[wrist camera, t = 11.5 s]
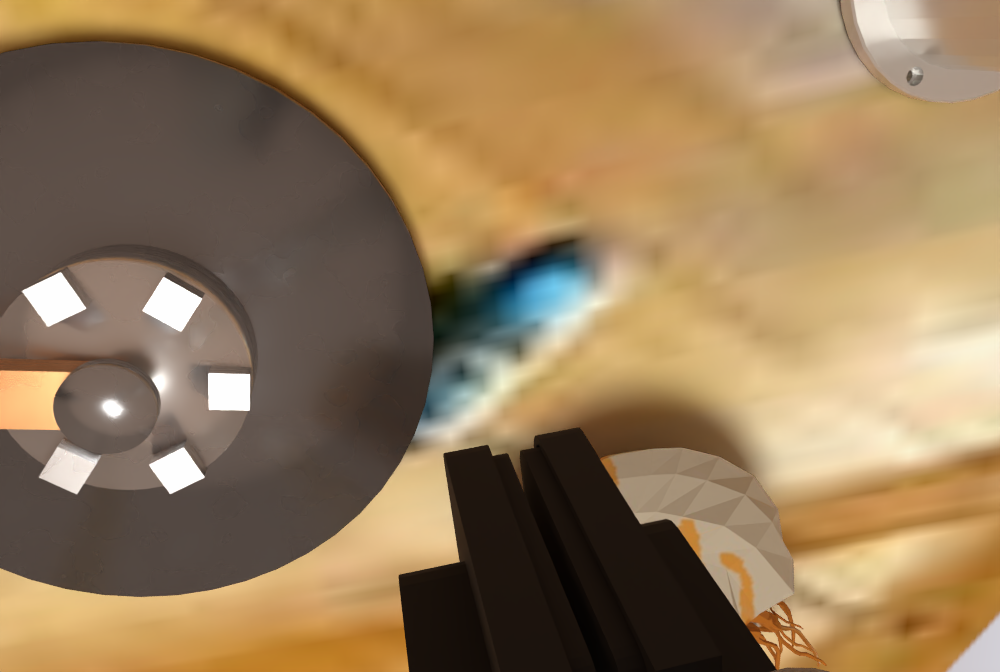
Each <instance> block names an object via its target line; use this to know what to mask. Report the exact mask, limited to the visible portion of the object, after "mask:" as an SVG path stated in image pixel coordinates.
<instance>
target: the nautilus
mask: <svg viewBox="0 0 1000 672" xmlns="http://www.w3.org/2000/svg"><path fill="white" fill-rule="evenodd" d="M600 460H601V462H602V463H603V465H604V466H605V468H606V470H607V471H608V473H609V474H610V476H611V478H612V479H613V481H614V483H615V484H616V486H617V487H618V489H619V491H620V492H621V494H622V495H623V497H624V499H625V500H626V502H627V503H628V505H629V507H630V508H631V510H632V511H633V513H634V515H635V516H636V518H637V519H638V521H639V523H640V524H644V523H649V522H653V521H658V520H663V519H668V520H671V521H672V522H673V523H674V524H675V525H676V526H677V527H678V528H679V530H680V531H681V533H682V534H683V536H684V537H685V538H686V540H687V541H688V543H689V544H690V546H691V547H692V548H693V550H694V551H695V553H696V554H697V556H698V557H699V559H700V560H701V561H702V563H703V564H704V566H705V567H706V569H707V570H708V572H709V573H710V574H711V576H712V577H713V579H714V580H715V582H716V583H717V584H718V586H719V587H720V589H721V590H722V592H723V593H724V595H725V596H726V597H727V599H728V600H729V602H730V603H731V605H732V606H733V607H734V609H735V610H736V612H737V613H738V615H739V616H740V618H741V619H742V620H743V622H744V623H745V625H746V626H747V628H748V629H749V630H750V632H751V633H752V635H753V636H754V638H755V639H756V641H757V642H758V643H759V644H762V645H766V647H767V648H768V650H769V651H770V653H771V654H772V655H773V657H774V659H775V668H776V669H777V670H779V665H780V655H781V653H782V650H783V649H782V644H783V645H785V646H786V647H787V648H788V649H790V650H791V651H792V652H793V653H795V654H797V655H799V656H807V657H809V658H812V659H814V660H816V661H817V662H818V664H817V666H818V667H819V665H820V663H822V664H824V665H825V666H826V664H825V663H824V662H823V661H822V660H821V659H819V658H818V654H817V652H816V651H815V649H814V648H813V647H812V646H811V644H810V643H809V642H808V640H807V639H806V638H805V637H804V635H803V634H802V633H801V631H800V630H798V629H796V628H795V626H797V627H800V628H802V627H801V626H799V625H796V624H794V623H793V619H792V615H791V611H790V609H789V608H788V607H787V605H786V604H785V603H784V602H782V600H784V599H786V598H788V597H789V596H791V595H793V594H794V567H793V558H792V557H791V555H790V553H789V551H788V549H787V548H786V546H785V544H784V542H783V538H782V532H781V525H780V519H779V512H778V509H777V507H776V506H775V504H774V503H773V502H772V500H771V499H770V497H769V496H768V495H767V493H766V492H765V490H764V489H763V488H762V486H761V485H760V483H759V482H758V481H757V479H756V478H755V476H753V475H751V474H750V473H748V472H746V471H744V470H743V469H741V468H739V467H737V466H735V465H734V464H732V463H730V462H728V461H727V460H725V459H723V458H721V457H719V456H715V455H711V454H707V453H703V452H699V451H695V450H690V449H686V448H656V449H645V450H637V451H630V452H625V453H619V454H614V455H608V456H604V457H602V458H600ZM776 604H777V605H779V606H780V607H781V608H782V610H783V611H784V612H785V613H786V615H787V616H788V619H789V621H786V620H785V619H783V618H782V617H781V616H779V615H778V614H776V613H775V612H774V611H773V610H772V606H774V605H776ZM769 608H770V610H771V611H772V613H773V614H772V613H771V612H767V611H766V610H767V609H769ZM778 618H780V619H781V620H783V621H784V622H786V623H788V624H790V627H787V626H783V625H781V624H780V622H779V621H778ZM802 629H803V628H802ZM782 630H784V631H788V630H791V631H792V640H791V639H790V638H789V637H787V636H786V635H785V634H784V632H783V631H782ZM760 631H763V632H774V633H776V635H777V637H778V641H779V647H780V650H779V648H778V646H777V644H774V643H772V642H769V641H766V639H765V638H764V636H763V635H762V634H761V632H760ZM779 631H780V632H781V633H782V635H783V636H784V637H785V638H786V639H787V640H788V641H789V642H791V643H792V646H791V645H789V644H788V643H787V642H786V641H785V640H783V638H782V637H781V635H780V633H779ZM795 633H797V634H798V635H799V636H800V637H801V639H802V640H803V641H804V642H805V644H806V645H807V646H808V647H809V648H808V647H806V646H804V645H801V644H797V643H795ZM794 645H795V646H801V647H803V648H805V649H807V650H809V651H811V652H813V654H814V656H813V655H811V654H809V653H807V652H799V651H797V650H795V649H794V648H793V646H794ZM771 647H773V648H774V649H775V651H776V654H775V653H774V652H773V650H772V648H771Z"/></svg>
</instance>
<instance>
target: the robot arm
mask: <svg viewBox="0 0 1000 672" xmlns="http://www.w3.org/2000/svg"><path fill="white" fill-rule="evenodd" d="M840 1H841V12H842V15H843V19H844V23H845V26H846V30H847V34H848V37H849V39H850V41H851V43H852V45H853V47H854V49H855V51H856V53H857V55H858V57H859V59H860V60H861V61H862V62H863V64H864V65H865V66H866V67H867V69H868V70H869V71H870V72H871V74H872V75H873V76H874V77H876V78H877V79H878V80H879V81H881V82H882V83H883V84H884V85H886V86H887V87H888V88H889V89H891V90H893V91H896V92H898V93H900V94H902V95H904V96H907V97H909V98H914V99H919V100H924V101H929V102H944V103H955V102H962V101H969V100H975V99H978V98H980V97H983V96H986V95H989V94H992V93H994V92H997V91H998V90H1000V0H840ZM444 464H445V470H446V477H447V483H448V490H449V496H450V502H451V509H452V515H453V522H454V528H455V534H456V541H457V547H458V554H459V560H460V562H458V563H453V564H448V565H444V566H439V567H434V568H429V569H425V570H420V571H415V572H410V573H406V574H401V575H399V586H400V595H401V604H402V612H403V621H404V630H405V639H406V648H407V656H408V665H409V672H829V671H824V670H820V669H816V668H784V669H780V670H777V669H776V668H775V666H774V665H773V664H772V662H771V661H770V659H769V658H768V656H767V655H766V653H765V652H764V651H763V649H762V648H761V646H760V645H759V643H758V642H757V641H756V639H755V638H754V636H753V635H752V633H751V632H750V630H749V629H748V628H747V626H746V625H745V623H744V622H743V620H742V619H741V618H740V616H739V615H738V613H737V612H736V610H735V609H734V607H733V606H732V605H731V603H730V602H729V600H728V599H727V597H726V596H725V595H724V593H723V592H722V590H721V589H720V587H719V586H718V584H717V583H716V582H715V580H714V579H713V577H712V576H711V574H710V573H709V572H708V570H707V569H706V567H705V566H704V564H703V563H702V561H701V560H700V559H699V557H698V556H697V554H696V553H695V551H694V550H693V548H692V547H691V546H690V544H689V543H688V541H687V540H686V538H685V537H684V536H683V534H682V533H681V531H680V530H679V528H678V527H677V526H676V525H675V524H674V523H673V522H672V521H671V520H668V519H663V520H658V521H653V522H649V523H644V524H640V523H639V521H638V519H637V518H636V516H635V515H634V513H633V511H632V510H631V508H630V507H629V505H628V503H627V502H626V500H625V499H624V497H623V495H622V494H621V492H620V491H619V489H618V487H617V486H616V484H615V483H614V481H613V479H612V478H611V476H610V474H609V473H608V471H607V470H606V468H605V466H604V465H603V463H602V462H601V460H600V458H599V457H598V455H597V454H596V452H595V450H594V449H593V447H592V446H591V444H590V442H589V441H588V439H587V438H586V436H585V434H584V433H583V431H582V430H581V429H580V428H573V429H568V430H563V431H558V432H553V433H547V434H542V435H537V436H535V438H534V448H532V449H526V450H521V451H520V464H521V472H522V481H523V489H524V492H523V489H522V487H521V484H520V482H519V479H518V477H517V475H516V472H515V470H514V467H513V465H512V462H511V460H510V458H509V455H508V454H507V453H506V454H501V455H495V456H492V454H491V451H490V448H489V446H488V445H485V446H479V447H474V448H469V449H464V450H458V451H453V452H448V453H444Z"/></svg>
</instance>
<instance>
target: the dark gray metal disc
mask: <svg viewBox="0 0 1000 672" xmlns="http://www.w3.org/2000/svg"><path fill="white" fill-rule="evenodd" d="M118 244H137V245H145V246H153V247H157V248H162V249H166V250H169V251H172V252H175V253H178V254H180V255H183V256H185V257H187V258H189V259H191V260H193V261H195V262H197V263H199V264H201V265H202V266H204V267H205V268H207V269H208V270H210V271H211V272H212V273H214V274H215V275H216V276H217V277H218V278H220V279H221V280H222V281H223V282H224V283H225V284H226V285H227V286H228V287H229V288H230V289H231V291H232V292H233V293H234V294H235V295H236V297H237V298H238V300H239V301H240V302H241V304H242V305H243V307H244V309H245V311H246V313H247V315H248V316H249V318H250V321H251V324H252V327H253V329H254V333H255V337H256V342H257V350H258V365H257V374H256V378H255V383H254V387H253V391H252V402H251V407H250V410H248V412H247V415H246V417H245V420H244V422H243V425H242V427H241V429H240V431H239V432H238V434H237V436H236V437H235V439H234V440H233V442H232V443H231V444H230V445H229V447H228V448H227V449H226V450H225V451H224V452H223V453H222V454H221V455H220V456H219V457H218V458H217V459H216V460H215V461H213V462H212V463H211V464H209V465H208V466H207V471H206V474H205V477H204V478H202V479H200V480H198V481H196V482H194V483H192V484H190V485H188V486H186V487H184V488H182V489H180V490H178V491H176V492H173V493H171V494H170V493H169V492H168V490H167V489H166V488H165V486H161V487H155V488H149V489H139V490H118V489H108V488H101V487H95V486H92V485H88V484H83V486H82V487H81V489H80V490H79V492H78V493H77V494H75V493H73V492H70V491H68V490H66V489H64V488H61V487H59V486H57V485H55V484H52V483H50V482H48V481H46V480H44V479H41V478H39V476H40V474H41V472H42V471H43V469H44V468H45V465H43V464H42V463H40V462H39V461H37V460H36V459H35V458H33V457H32V456H31V455H30V454H29V453H28V452H26V451H25V450H24V449H23V448H22V447H21V446H20V445H19V444H18V443H17V442H16V440H15V439H14V438H13V437H12V436H11V435H10V433H9V432H8V430H7V429H0V568H1V569H4V570H7V571H9V572H12V573H15V574H17V575H20V576H22V577H25V578H28V579H31V580H35V581H38V582H42V583H46V584H50V585H53V586H57V587H61V588H65V589H70V590H76V591H83V592H89V593H95V594H102V595H117V596H134V597H147V596H168V595H181V594H187V593H194V592H200V591H207V590H213V589H217V588H221V587H224V586H228V585H232V584H236V583H240V582H243V581H247V580H249V579H252V578H255V577H257V576H260V575H262V574H265V573H268V572H270V571H273V570H276V569H278V568H280V567H282V566H284V565H286V564H288V563H290V562H292V561H294V560H296V559H297V558H299V557H301V556H303V555H305V554H307V553H309V552H310V551H312V550H313V549H315V548H316V547H318V546H319V545H321V544H322V543H324V542H325V541H327V540H328V539H330V538H331V537H333V536H334V535H335V534H337V533H338V532H339V531H340V530H341V529H342V528H344V527H345V526H346V525H347V524H348V523H349V522H350V521H352V520H353V519H354V518H355V517H356V516H357V515H359V514H360V513H361V512H362V510H363V509H364V508H365V507H366V506H367V505H368V504H369V503H370V502H371V501H372V499H373V498H374V497H375V496H376V495H377V494H378V493H379V492H380V491H381V489H382V488H383V487H384V485H385V484H386V482H387V481H388V479H389V478H390V476H391V475H392V474H393V472H394V471H395V469H396V468H397V466H398V465H399V463H400V462H401V460H402V458H403V456H404V454H405V452H406V450H407V448H408V446H409V444H410V442H411V440H412V438H413V436H414V434H415V431H416V428H417V426H418V423H419V420H420V417H421V414H422V411H423V408H424V406H425V402H426V397H427V392H428V387H429V382H430V377H431V372H432V356H433V339H434V338H433V325H432V313H431V303H430V298H429V294H428V289H427V285H426V280H425V276H424V271H423V268H422V265H421V263H420V260H419V257H418V254H417V252H416V249H415V246H414V244H413V241H412V238H411V236H410V233H409V230H408V228H407V226H406V224H405V222H404V221H403V219H402V217H401V215H400V213H399V211H398V209H397V207H396V206H395V204H394V202H393V200H392V198H391V196H390V195H389V194H388V192H387V191H386V189H385V188H384V186H383V185H382V184H381V182H380V181H379V179H378V178H377V177H376V175H375V174H374V172H373V171H372V170H371V168H370V167H369V166H368V164H367V163H366V162H365V161H364V160H363V159H362V158H361V157H360V156H359V155H358V154H357V152H356V151H355V150H354V149H353V148H352V147H351V146H350V145H349V144H348V143H347V142H346V141H345V139H344V138H343V137H342V136H340V135H339V134H338V133H337V132H336V131H335V130H333V129H332V128H331V127H330V126H329V125H327V124H326V123H325V122H324V121H323V120H321V119H320V118H319V117H318V116H317V115H316V114H314V113H313V112H312V111H311V110H309V109H308V108H306V107H305V106H303V105H302V104H300V103H299V102H297V101H295V100H294V99H292V98H291V97H289V96H288V95H286V94H285V93H283V92H282V91H280V90H279V89H277V88H276V87H274V86H271V85H269V84H267V83H265V82H263V81H261V80H259V79H257V78H255V77H253V76H251V75H249V74H247V73H245V72H243V71H241V70H239V69H237V68H234V67H231V66H228V65H225V64H222V63H219V62H216V61H214V60H211V59H208V58H205V57H202V56H199V55H196V54H192V53H188V52H183V51H178V50H173V49H168V48H164V47H159V46H154V45H147V44H135V43H123V42H110V41H93V42H73V43H53V44H46V45H41V46H36V47H30V48H25V49H19V50H14V51H9V52H4V53H1V54H0V318H1V317H2V316H3V314H4V313H5V311H6V310H7V308H8V307H9V306H10V305H11V304H12V303H13V302H14V301H15V300H16V298H17V297H18V296H19V295H20V294H22V293H23V292H22V290H24V289H25V288H26V287H27V286H29V285H30V284H32V283H34V282H36V281H38V280H39V279H40V278H41V277H42V276H44V275H45V274H46V273H47V272H49V271H50V270H51V269H53V268H54V267H55V266H57V265H58V264H59V263H61V262H63V261H65V260H66V259H68V258H70V257H72V256H74V255H77V254H79V253H82V252H84V251H87V250H91V249H94V248H98V247H102V246H110V245H118Z"/></svg>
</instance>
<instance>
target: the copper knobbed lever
mask: <svg viewBox="0 0 1000 672" xmlns="http://www.w3.org/2000/svg"><path fill="white" fill-rule="evenodd" d="M22 292H23V293H22V294H20V295H19V296H18V297H17V298H16V300H15V301H14V302H13V303H12V304H11V305H10V306H9V307H8V308H7V310H6V311H5V313H4V314H3V316H2V317H1V318H0V429H7V430H8V432H9V433H10V435H11V436H12V437H13V438H14V439H15V440H16V442H17V443H18V444H19V445H20V446H21V447H22V448H23V449H24V450H25V451H26V452H28V453H29V454H30V455H31V456H32V457H33V458H35V459H36V460H37V461H39V462H40V463H42V464H43V465H45V468H44V469H43V471H42V472H41V474H40V476H39V478H41V479H44V480H46V481H48V482H50V483H52V484H55V485H57V486H59V487H61V488H64V489H66V490H68V491H70V492H73V493H75V494H77V493H78V492H79V490H80V489H81V487H82V486H83V484H88V485H92V486H95V487H101V488H108V489H118V490H139V489H149V488H155V487H161V486H165V488H166V489H167V490H168V492H169V493H170V494H171V493H173V492H176V491H178V490H180V489H182V488H184V487H186V486H188V485H190V484H192V483H194V482H196V481H198V480H200V479H202V478H204V477H205V474H206V471H207V466H208V465H209V464H211V463H212V462H213V461H215V460H216V459H217V458H218V457H219V456H220V455H221V454H222V453H223V452H224V451H225V450H226V449H227V448H228V447H229V445H230V444H231V443H232V442H233V440H234V439H235V437H236V436H237V434H238V432H239V431H240V429H241V427H242V425H243V422H244V420H245V417H246V415H247V412H248V410H250V407H251V402H252V391H253V387H254V383H255V378H256V374H257V365H258V350H257V342H256V337H255V333H254V329H253V327H252V324H251V321H250V318H249V316H248V315H247V313H246V311H245V309H244V307H243V305H242V304H241V302H240V301H239V300H238V298H237V297H236V295H235V294H234V293H233V292H232V291H231V289H230V288H229V287H228V286H227V285H226V284H225V283H224V282H223V281H222V280H221V279H220V278H218V277H217V276H216V275H215V274H214V273H212V272H211V271H210V270H208V269H207V268H205V267H204V266H202V265H201V264H199V263H197V262H195V261H193V260H191V259H189V258H187V257H185V256H183V255H180V254H178V253H175V252H172V251H169V250H166V249H162V248H157V247H153V246H145V245H137V244H118V245H110V246H102V247H98V248H94V249H91V250H87V251H84V252H82V253H79V254H77V255H74V256H72V257H70V258H68V259H66V260H65V261H63V262H61V263H59V264H58V265H57V266H55V267H54V268H53V269H51V270H50V271H49V272H47V273H46V274H45V275H44V276H42V277H41V278H40V279H39V280H38V281H36V282H34V283H32V284H30V285H29V286H27V287H26V288H25V289H24V290H22Z"/></svg>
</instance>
